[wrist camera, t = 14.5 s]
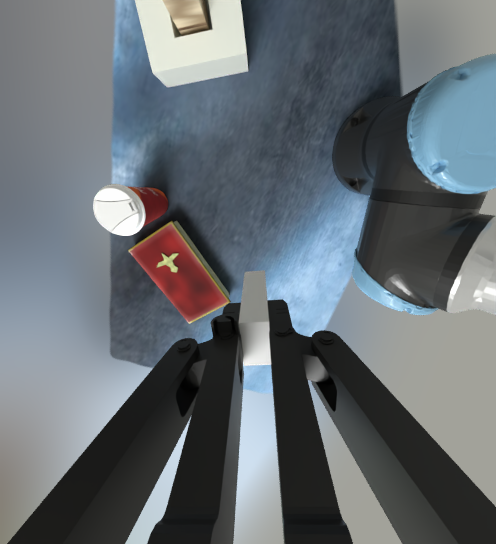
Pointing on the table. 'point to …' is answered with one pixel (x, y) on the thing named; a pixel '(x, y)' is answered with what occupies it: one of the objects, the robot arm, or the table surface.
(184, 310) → the hardcover book
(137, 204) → the paper cup
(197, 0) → the maple peg
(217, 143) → the table surface
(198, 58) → the socket block
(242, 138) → the table surface
